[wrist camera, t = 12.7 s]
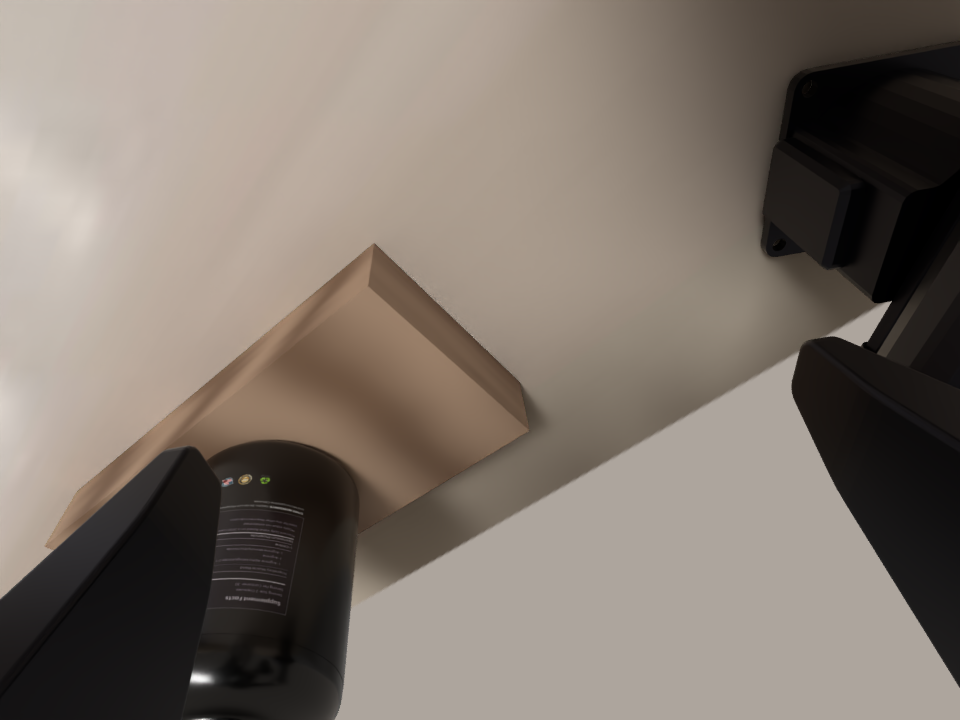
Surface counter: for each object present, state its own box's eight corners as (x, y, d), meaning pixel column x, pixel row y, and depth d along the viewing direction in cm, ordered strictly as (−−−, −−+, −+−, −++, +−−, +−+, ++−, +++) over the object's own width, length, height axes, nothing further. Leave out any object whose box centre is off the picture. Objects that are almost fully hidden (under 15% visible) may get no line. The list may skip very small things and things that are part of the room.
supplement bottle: (373, 530, 26) (347, 875, 17) (222, 543, 26) (112, 902, 17) (347, 425, 22) (294, 809, 13) (166, 439, 22) (-25, 844, 12)
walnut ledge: (374, 243, 21) (368, 285, 18) (519, 382, 25) (529, 430, 23) (76, 491, 27) (44, 546, 25) (235, 565, 32) (220, 616, 30)
